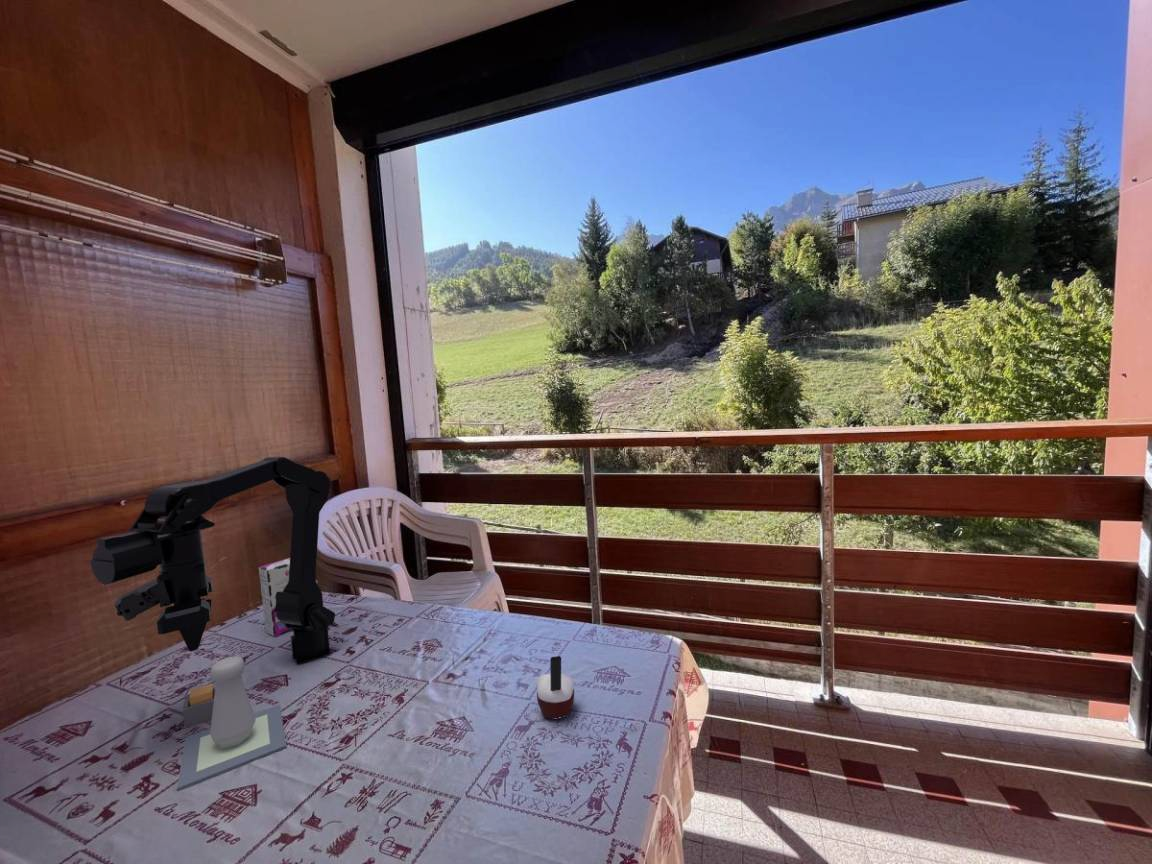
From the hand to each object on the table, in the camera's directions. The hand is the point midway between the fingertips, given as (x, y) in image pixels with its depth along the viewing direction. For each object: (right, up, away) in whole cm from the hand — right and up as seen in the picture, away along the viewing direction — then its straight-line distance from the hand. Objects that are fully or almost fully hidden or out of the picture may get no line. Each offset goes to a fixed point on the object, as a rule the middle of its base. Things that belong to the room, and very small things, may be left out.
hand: (193, 650), depth 80 cm
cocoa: (+62, -10, -2) cm, 62 cm away
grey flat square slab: (+11, -12, -5) cm, 17 cm away
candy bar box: (-5, -11, +36) cm, 38 cm away
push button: (0, -11, +2) cm, 11 cm away
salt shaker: (+11, -12, -5) cm, 17 cm away
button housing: (0, -13, +2) cm, 13 cm away
